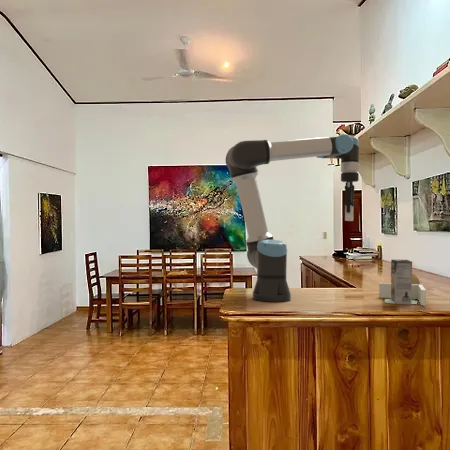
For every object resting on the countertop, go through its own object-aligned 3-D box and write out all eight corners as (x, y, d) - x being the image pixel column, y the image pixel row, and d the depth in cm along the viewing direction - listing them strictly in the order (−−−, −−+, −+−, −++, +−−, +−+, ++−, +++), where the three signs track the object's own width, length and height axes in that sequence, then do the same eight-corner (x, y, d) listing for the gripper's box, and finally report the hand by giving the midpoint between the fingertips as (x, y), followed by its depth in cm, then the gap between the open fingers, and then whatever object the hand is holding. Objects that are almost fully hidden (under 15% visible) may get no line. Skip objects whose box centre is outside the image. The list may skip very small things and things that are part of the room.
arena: (378, 303, 184) (378, 288, 184) (378, 297, 201) (379, 282, 201) (425, 306, 178) (425, 290, 178) (421, 299, 196) (421, 284, 196)
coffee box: (390, 299, 192) (390, 259, 192) (406, 299, 192) (407, 259, 192) (395, 303, 183) (395, 260, 183) (412, 303, 183) (413, 261, 182)
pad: (385, 303, 185) (385, 302, 185) (384, 299, 194) (384, 298, 194) (418, 304, 182) (418, 304, 182) (416, 301, 190) (416, 300, 190)
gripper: (357, 169, 199) (356, 220, 199) (359, 175, 223) (359, 221, 223) (338, 169, 201) (338, 220, 201) (343, 175, 225) (342, 221, 225)
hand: (349, 220), depth 212 cm, fingers open, 13 cm apart
